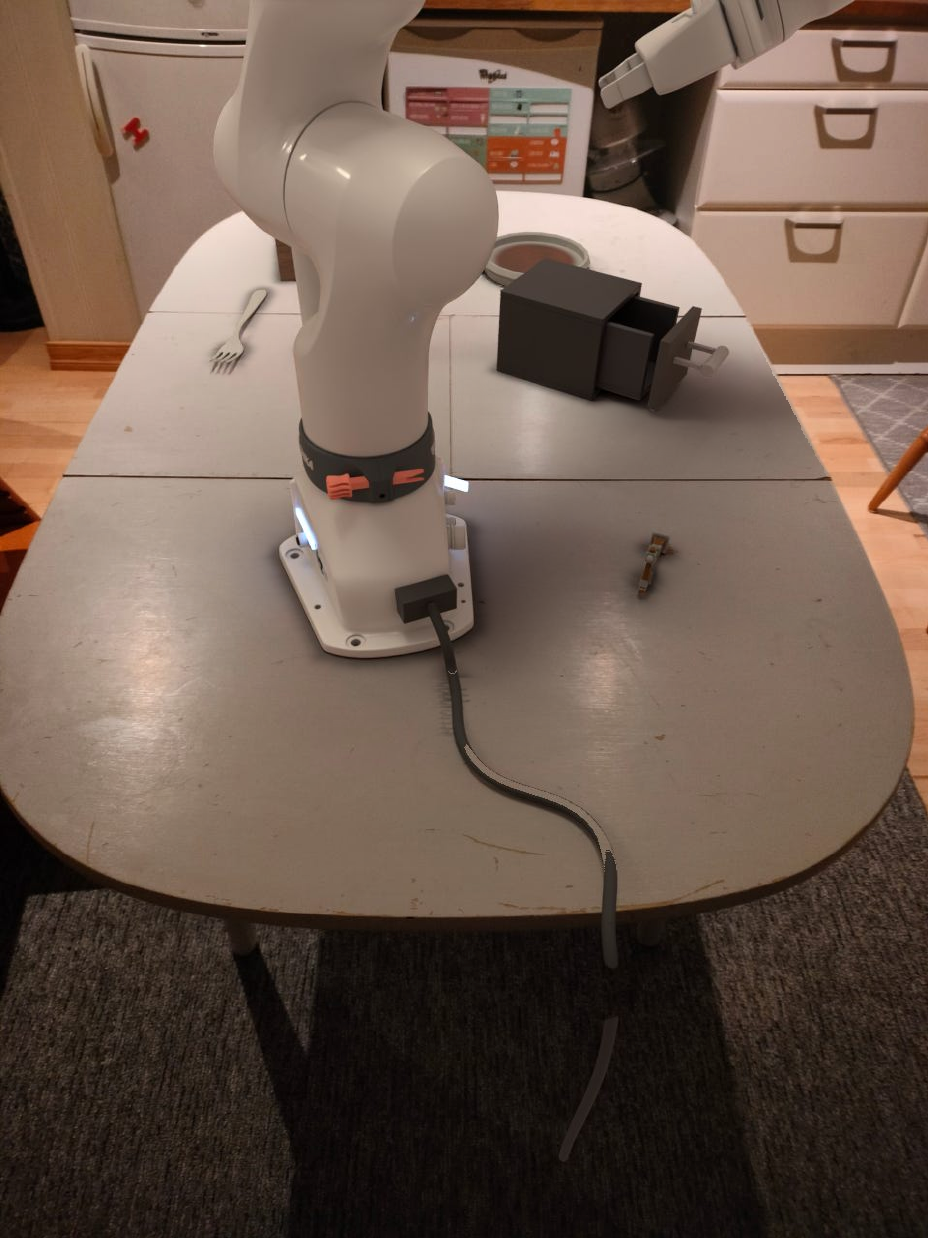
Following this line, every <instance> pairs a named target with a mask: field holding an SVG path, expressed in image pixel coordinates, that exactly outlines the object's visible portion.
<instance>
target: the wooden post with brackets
mask: <svg viewBox="0 0 928 1238" xmlns="http://www.w3.org/2000/svg"><path fill="white" fill-rule="evenodd" d="M650 536H651V537H650V539H649V544H648V547H647V551H646V552H645V555H644V558H643V562H644V563H645V565H644V569H643V571H642V572H641V575H640V578H639V584H638V591H637V594H639V595H643V596H644V595H645V593H646V590H647V587H648V585H651V583H652V579H653V575H654V571H652V568H653V565H654V564H655V563H656V562H657V560H658V559H659V557H660V555H661V553H662V554H666V553H667V551H668V550H667V549H668V547H669V542H670V540H671V535H668V534H664V533H661V532H656V531H652V532H651V535H650Z"/></svg>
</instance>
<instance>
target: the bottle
mask: <svg viewBox="0 0 928 1238" xmlns="http://www.w3.org/2000/svg"><path fill="white" fill-rule="evenodd" d="M291 249H292V256H293V263H294V270H295V277H296V280H295V283H296V291H297V298H298V305H299V311H300V317H301V327H302V326H303V325H304V324H305V323H306V322H307V321H308V320H309V319H310V318H311V317H313V316H314V315H315V314H316V313H318V310H319V303H320V292H321V286H320V278H319V275H318V272H317V270H316V267H315V265H314V263H313V261H312V259H311V258H310V257H308V256H307V255H305V254H303V253H301V252H299V251H297V250H296V249H294V248H292V247H291Z"/></svg>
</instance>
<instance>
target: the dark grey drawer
mask: <svg viewBox="0 0 928 1238" xmlns="http://www.w3.org/2000/svg"><path fill="white" fill-rule="evenodd" d="M680 309H681V308H680V307H679V306H678V305H673V304H669V303H665V302H662V301H658V300H655V299H650V298H646V297H643V296H641V295H640V296H636V295H634V296H633V297H632V298H631V299H630V300H629V301H628V302H627V303H626V304H625V305H623V306H622V307H621V308H620V309H619V310H618V311H617V312H616V313H615V314H614V315H613V316H612V317H611V318H610V319H609V320H608V321H606V322H605V326H604V333H603V340H602V346H601V353H600V360H599V367H598V374H597V381H596V387H598V388H601V389H602V390H604V391H607V392H610V393H614V394H618V395H620V396H624V397H627V398H629V399H630V398H631V399H632V400H636V401H641V400H642V398H644V396H646V394H647V393H648V392H649V390H650V392H649V396H648V397H649V398H648V402H647V407H646V408H647V410H650V411H654V412H657V411H658V410H659V409H660V408H661V407H662V405H663V404H664V403H665V402H666V401H667V399H668V398H669V397H670V396H671V394H672V393H673V392H674V391H675V390H676V389H677V387H678V386H679V385H680V384H681V382H682V381H683V380H684V379H685V378H686V376H687V375H688V372H689V369H693V370H696V371H698V372H700V375H701V376H702V377H703V378H711V377H713V376H714V374H715V373H716V372H717V370H718V369H719V368H720V366H721V365H722V364H723V363H724V362H725V360H726V359H727V358H728V356H729V354H730V350H729V347H727V346H726V345H719V346H717V347H716V348H715V347H712V346H709V345H705V344H702V343H698V342H695V341H696V336H697V333H698V327H699V324H700V319H701V315H702V311H703V308H702V307H699V306H694V305H692V306H691V308H689V309H688V310H687V312H686V313H685V314H684V315H683V316H682V317H681V318H680V319H679V320H678V318H679V313H680ZM693 350H695V351H697V352H701V353H705V354H710V356H709V357H708V358H707V359H706V360H705V362H703V363H701V362H697V361H692V360H691V359H692V354H693Z"/></svg>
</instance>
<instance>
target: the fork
mask: <svg viewBox="0 0 928 1238" xmlns="http://www.w3.org/2000/svg"><path fill="white" fill-rule="evenodd" d="M267 295H268V293H267V290H266V289H257V290H256V291H254V292H253V293H252V294H251V297H250V299H249V301H248V303H247V305H246V307H245V309H244V312H243V314H242V316H241V318H240V320H239V322H238V323H237V325H236V326H235V328H234V330H233V332H232V335H231V337H230V338H229V339H228V341H227V342H225V343H224V344H223V345H222V346H221V347H220V348H219V349H218V351H217V352H216V354H215V355H214V356H212V357H211V358H210V359H208V362H209V363H210V362H212V361H213V362H214V363H217V362H219V361H220V362H219V363H221V364H222V363H224V362H225V364H228V363H232V361H234V360H235V359H237V358H238V357H239V356H240V355H242V353H243V352H244V346H243V344H242V342H241V340H240V331H241V328H242V327H243V326H244V325H245V324H246V322H247V321H248V320H249V318H250V317H251V316H252V315H253V314H254V313H255V311H257V309H258V307H260V306H261V304H262V303H263V301H264V300H265V298H266V297H267Z"/></svg>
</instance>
